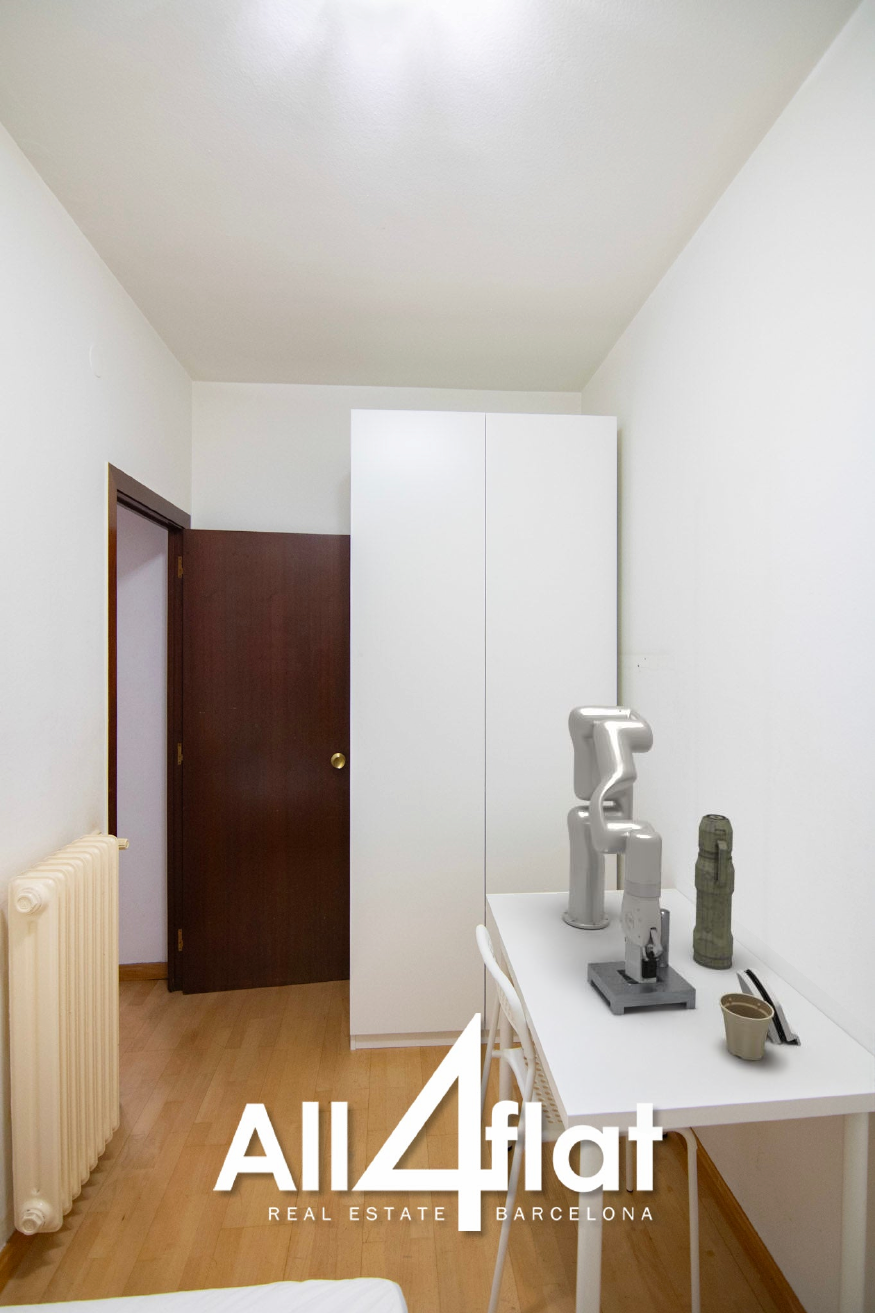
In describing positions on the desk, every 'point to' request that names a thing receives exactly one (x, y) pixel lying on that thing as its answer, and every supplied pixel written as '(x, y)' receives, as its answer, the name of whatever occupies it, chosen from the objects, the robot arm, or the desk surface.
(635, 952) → the skincare box
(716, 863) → the thermos
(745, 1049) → the flower pot
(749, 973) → the white curved piece
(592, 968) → the gray square stand
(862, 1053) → the desk surface
